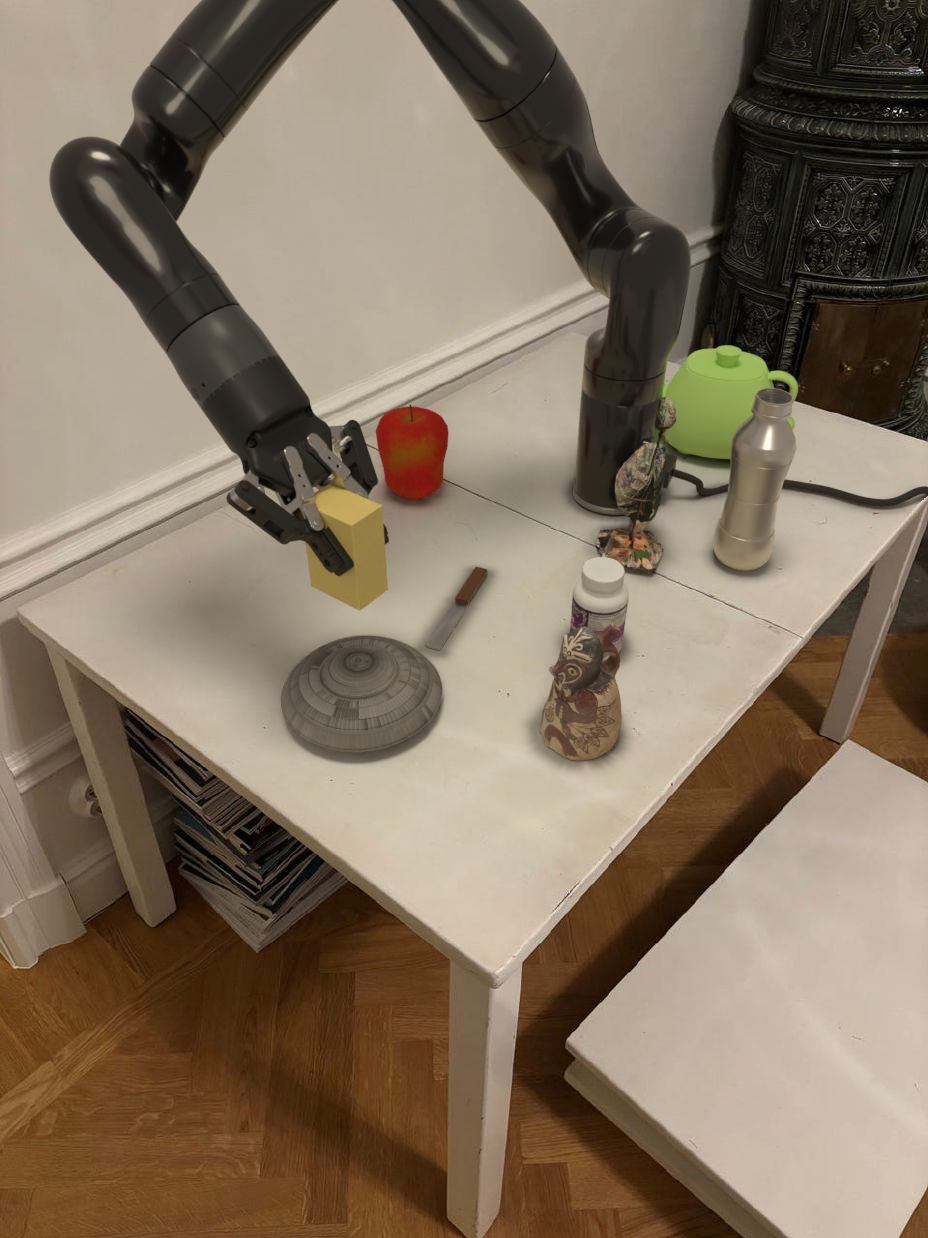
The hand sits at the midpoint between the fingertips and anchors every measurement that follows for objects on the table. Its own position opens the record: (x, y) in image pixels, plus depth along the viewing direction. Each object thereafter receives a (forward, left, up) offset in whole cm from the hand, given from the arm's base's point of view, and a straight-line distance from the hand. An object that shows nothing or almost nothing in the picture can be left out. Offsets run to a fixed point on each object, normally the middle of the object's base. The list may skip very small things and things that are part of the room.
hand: (364, 558), depth 76 cm
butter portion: (+2, -1, -4) cm, 5 cm away
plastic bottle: (-27, -37, -18) cm, 49 cm away
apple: (+13, -36, -18) cm, 43 cm away
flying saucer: (+2, -1, -18) cm, 18 cm away
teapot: (-18, -62, -18) cm, 67 cm away
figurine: (-18, -5, -18) cm, 26 cm away
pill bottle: (-16, -17, -18) cm, 29 cm away
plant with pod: (-15, -35, -18) cm, 42 cm away
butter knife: (-1, -18, -18) cm, 25 cm away
